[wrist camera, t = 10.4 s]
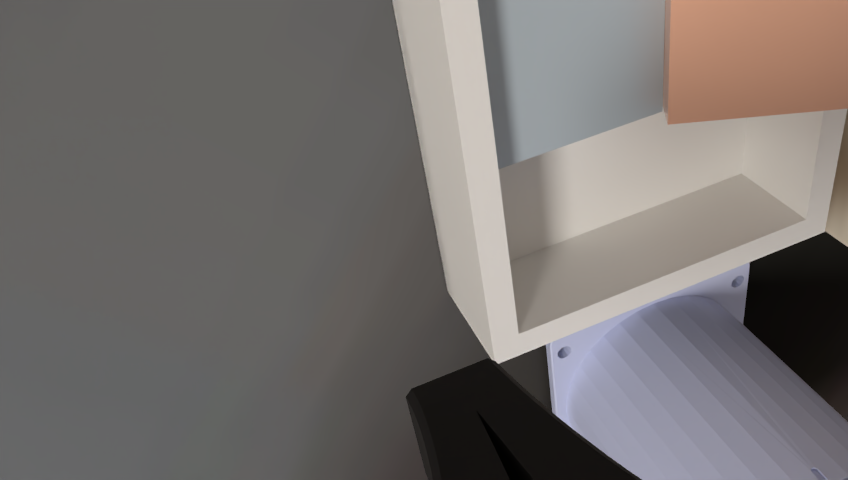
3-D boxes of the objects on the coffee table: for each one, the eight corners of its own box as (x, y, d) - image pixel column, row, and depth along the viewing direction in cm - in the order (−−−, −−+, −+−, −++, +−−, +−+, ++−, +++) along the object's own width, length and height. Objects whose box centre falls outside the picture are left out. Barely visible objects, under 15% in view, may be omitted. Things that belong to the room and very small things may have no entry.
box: (747, 177, 27) (824, 231, 24) (447, 291, 25) (495, 364, 22) (811, -438, 17) (951, -460, 15) (328, -335, 15) (387, -339, 13)
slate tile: (485, 173, 20) (454, 138, 21) (662, 111, 21) (620, 81, 22) (458, -27, 17) (424, -51, 18) (667, -89, 18) (617, -107, 19)
